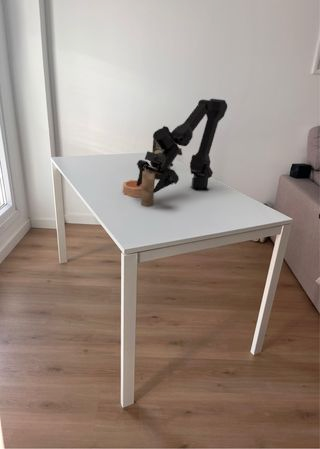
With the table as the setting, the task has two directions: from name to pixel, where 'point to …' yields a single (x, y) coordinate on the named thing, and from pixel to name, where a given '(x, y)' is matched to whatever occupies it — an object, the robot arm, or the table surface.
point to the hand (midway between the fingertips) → (145, 188)
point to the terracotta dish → (132, 188)
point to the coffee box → (157, 149)
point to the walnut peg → (147, 188)
